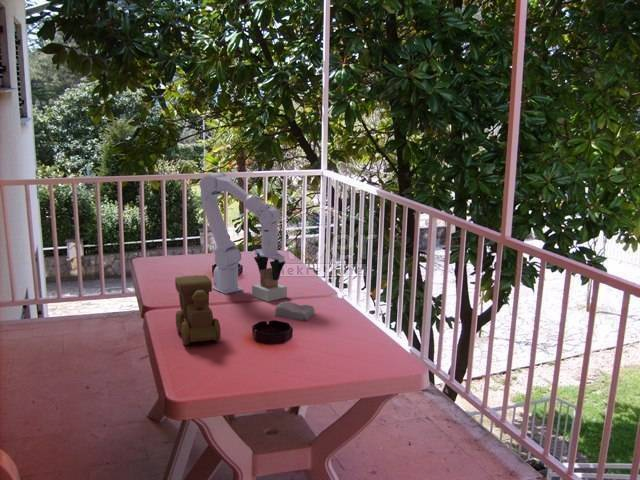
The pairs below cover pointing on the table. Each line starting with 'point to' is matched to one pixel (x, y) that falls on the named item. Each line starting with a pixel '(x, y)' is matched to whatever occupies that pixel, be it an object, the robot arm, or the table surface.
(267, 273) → the walnut block
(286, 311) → the stone block
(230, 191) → the robot arm
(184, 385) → the table surface
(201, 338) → the wooden toy train
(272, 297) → the plinth
